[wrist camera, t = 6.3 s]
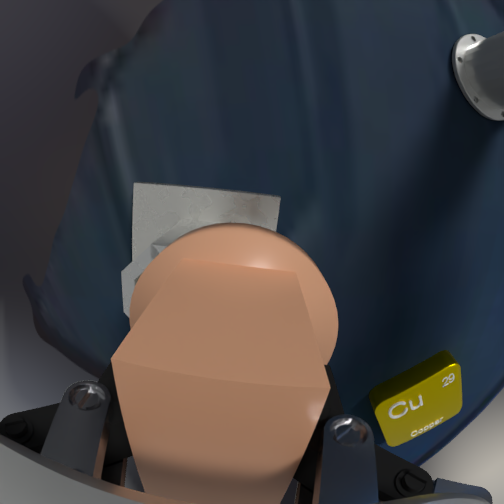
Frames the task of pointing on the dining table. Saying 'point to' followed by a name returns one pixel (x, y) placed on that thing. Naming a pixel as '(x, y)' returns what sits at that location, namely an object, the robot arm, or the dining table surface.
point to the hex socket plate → (186, 219)
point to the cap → (225, 365)
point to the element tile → (418, 398)
